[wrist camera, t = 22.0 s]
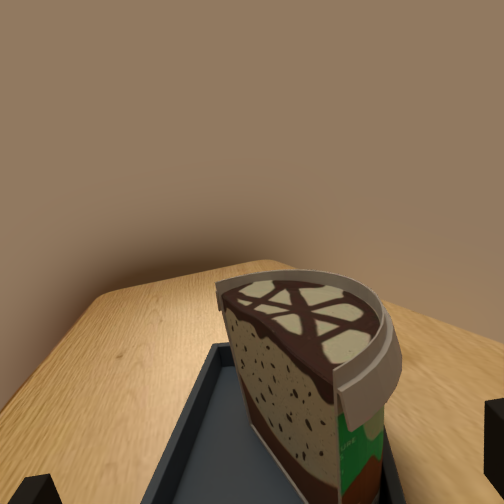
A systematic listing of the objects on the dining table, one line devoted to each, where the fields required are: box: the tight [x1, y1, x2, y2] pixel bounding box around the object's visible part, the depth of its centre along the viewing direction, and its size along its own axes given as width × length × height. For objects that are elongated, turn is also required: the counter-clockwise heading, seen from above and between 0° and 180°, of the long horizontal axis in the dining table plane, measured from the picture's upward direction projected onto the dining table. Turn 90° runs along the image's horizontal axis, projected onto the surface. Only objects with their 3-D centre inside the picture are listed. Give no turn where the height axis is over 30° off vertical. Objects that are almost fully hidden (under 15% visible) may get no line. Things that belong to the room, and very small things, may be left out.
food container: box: [215, 269, 402, 504], centre depth 19 cm, size 12×6×10 cm, turn 26°
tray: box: [140, 342, 406, 504], centre depth 21 cm, size 12×17×3 cm
